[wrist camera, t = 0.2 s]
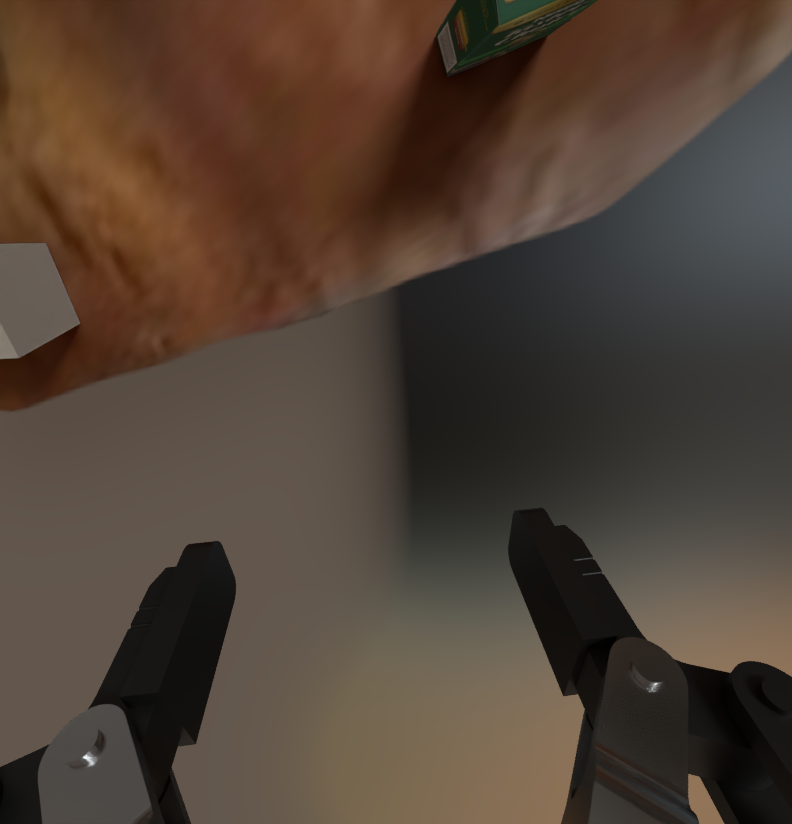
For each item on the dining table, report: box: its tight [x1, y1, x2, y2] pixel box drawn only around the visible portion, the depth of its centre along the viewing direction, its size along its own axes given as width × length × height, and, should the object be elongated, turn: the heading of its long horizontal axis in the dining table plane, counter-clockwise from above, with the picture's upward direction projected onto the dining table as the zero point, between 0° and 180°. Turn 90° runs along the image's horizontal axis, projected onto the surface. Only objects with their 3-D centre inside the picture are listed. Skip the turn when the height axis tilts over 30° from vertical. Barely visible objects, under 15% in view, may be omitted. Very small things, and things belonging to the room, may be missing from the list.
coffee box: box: [436, 0, 598, 77], centre depth 22 cm, size 8×3×13 cm, turn 109°
